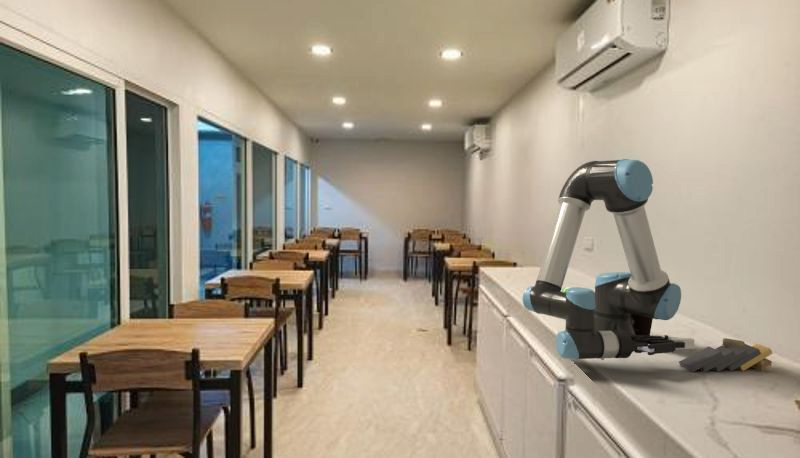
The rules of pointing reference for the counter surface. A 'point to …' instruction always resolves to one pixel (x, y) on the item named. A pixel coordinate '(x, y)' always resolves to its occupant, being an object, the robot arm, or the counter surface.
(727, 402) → the counter surface
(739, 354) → the domino
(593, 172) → the robot arm
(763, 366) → the block
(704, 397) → the counter surface
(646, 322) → the coffee mug
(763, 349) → the domino
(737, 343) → the stone block
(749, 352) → the domino
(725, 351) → the domino
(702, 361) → the domino
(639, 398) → the counter surface
